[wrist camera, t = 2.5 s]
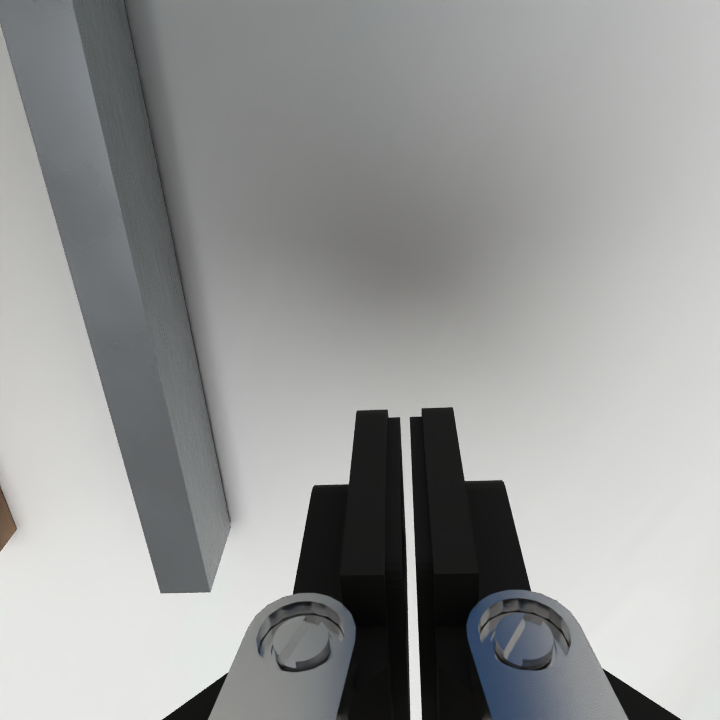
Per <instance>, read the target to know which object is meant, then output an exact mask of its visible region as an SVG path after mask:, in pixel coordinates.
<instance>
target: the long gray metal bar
mask: <svg viewBox="0 0 720 720" xmlns="http://www.w3.org/2000/svg"><path fill="white" fill-rule="evenodd" d="M0 24H1V27H2V31H3V34H4V38H5V41H6V45H7V48H8V52H9V56H10V59H11V63H12V66H13V70H14V73H15V77H16V80H17V84H18V88H19V91H20V95H21V98H22V102H23V105H24V109H25V112H26V116H27V120H28V123H29V127H30V130H31V134H32V137H33V141H34V144H35V148H36V152H37V155H38V159H39V162H40V166H41V169H42V173H43V176H44V180H45V184H46V187H47V191H48V194H49V198H50V201H51V205H52V208H53V212H54V216H55V219H56V223H57V226H58V230H59V233H60V237H61V240H62V244H63V248H64V251H65V255H66V258H67V262H68V265H69V269H70V272H71V276H72V280H73V283H74V287H75V290H76V294H77V297H78V301H79V304H80V308H81V312H82V315H83V319H84V322H85V326H86V329H87V333H88V336H89V340H90V344H91V347H92V351H93V354H94V358H95V361H96V365H97V368H98V372H99V376H100V379H101V383H102V386H103V390H104V393H105V397H106V401H107V404H108V408H109V411H110V415H111V418H112V422H113V425H114V429H115V433H116V436H117V440H118V443H119V447H120V450H121V454H122V457H123V461H124V465H125V468H126V472H127V475H128V479H129V482H130V486H131V489H132V493H133V497H134V500H135V504H136V507H137V511H138V514H139V518H140V521H141V525H142V529H143V532H144V536H145V539H146V543H147V546H148V550H149V553H150V557H151V561H152V564H153V568H154V571H155V575H156V578H157V582H158V585H159V589H160V593H198V592H211V589H212V585H213V582H214V579H215V576H216V572H217V569H218V566H219V563H220V560H221V556H222V553H223V550H224V547H225V544H226V540H227V537H228V534H229V531H230V528H231V527H230V522H229V517H228V512H227V507H226V502H225V497H224V492H223V488H222V483H221V478H220V473H219V468H218V463H217V458H216V453H215V448H214V443H213V438H212V433H211V428H210V424H209V419H208V414H207V409H206V404H205V399H204V394H203V389H202V384H201V379H200V374H199V369H198V364H197V359H196V355H195V350H194V345H193V340H192V335H191V330H190V325H189V320H188V315H187V310H186V305H185V300H184V295H183V290H182V286H181V281H180V276H179V271H178V266H177V261H176V256H175V251H174V246H173V241H172V236H171V231H170V226H169V221H168V217H167V212H166V207H165V202H164V197H163V192H162V187H161V182H160V177H159V172H158V167H157V162H156V157H155V152H154V148H153V143H152V138H151V133H150V128H149V123H148V118H147V113H146V108H145V103H144V98H143V93H142V88H141V83H140V79H139V74H138V69H137V64H136V59H135V54H134V49H133V44H132V39H131V34H130V29H129V24H128V19H127V14H126V10H125V5H124V0H0Z"/></svg>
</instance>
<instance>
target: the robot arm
mask: <svg viewBox="0 0 720 720" xmlns="http://www.w3.org/2000/svg"><path fill="white" fill-rule="evenodd" d="M410 433H411V458H412V483H413V508H414V532H415V557H416V582H417V606H418V631H419V655H420V680H421V705H422V720H681V719H680V718H678V717H677V716H675V715H673V714H672V713H670V712H669V711H667V710H666V709H664V708H663V707H661V706H660V705H658V704H656V703H655V702H653V701H652V700H650V699H649V698H647V697H646V696H644V695H643V694H641V693H640V692H638V691H636V690H635V689H633V688H632V687H630V686H629V685H627V684H626V683H624V682H623V681H621V680H619V679H618V678H616V677H615V676H613V675H612V674H610V673H609V672H607V671H606V670H604V669H603V668H602V667H601V665H600V663H599V661H598V659H597V657H596V655H595V653H594V652H593V650H592V648H591V646H590V644H589V642H588V640H587V638H586V636H585V634H584V632H583V630H582V628H581V626H580V624H579V623H578V622H577V620H576V619H575V617H574V616H573V615H572V613H571V612H570V611H569V610H568V609H566V608H565V607H564V606H563V605H561V604H560V603H559V602H558V601H556V600H554V599H552V598H549V597H547V596H545V595H543V594H541V593H536V592H532V591H531V589H530V585H529V581H528V577H527V573H526V569H525V565H524V561H523V557H522V552H521V548H520V544H519V540H518V536H517V532H516V528H515V524H514V520H513V516H512V512H511V508H510V504H509V500H508V496H507V492H506V488H505V485H504V482H503V481H502V480H494V481H464V474H463V468H462V462H461V456H460V449H459V443H458V437H457V430H456V424H455V418H454V411H453V408H452V407H448V408H422V417H410ZM163 720H410V688H409V645H408V602H407V559H406V533H405V512H404V491H403V470H402V449H401V428H400V417H395V418H388V410H362V411H357V413H356V421H355V431H354V441H353V451H352V461H351V470H350V480H349V484H346V485H314V487H313V489H312V493H311V498H310V503H309V509H308V514H307V520H306V525H305V531H304V536H303V542H302V547H301V553H300V558H299V564H298V569H297V574H296V580H295V585H294V591H293V595H290V596H286V597H282V598H280V599H278V600H276V601H275V602H273V603H271V604H269V605H267V606H266V607H265V608H264V609H263V610H262V611H260V612H259V613H258V614H257V615H256V616H255V618H254V619H253V621H252V622H251V624H250V625H249V627H248V629H247V631H246V633H245V636H244V638H243V640H242V642H241V645H240V647H239V649H238V652H237V654H236V656H235V659H234V661H233V663H232V666H231V668H230V670H229V672H228V673H227V674H225V675H224V676H223V677H221V678H220V679H218V680H217V681H216V682H214V683H213V684H211V685H210V686H209V687H207V688H206V689H204V690H203V691H202V692H200V693H199V694H197V695H196V696H195V697H193V698H192V699H190V700H189V701H188V702H186V703H185V704H184V705H182V706H181V707H179V708H178V709H177V710H175V711H174V712H172V713H171V714H170V715H168V716H167V717H165V718H164V719H163Z"/></svg>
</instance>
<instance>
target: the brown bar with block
mask: <svg viewBox="0 0 720 720" xmlns="http://www.w3.org/2000/svg"><path fill="white" fill-rule="evenodd" d="M15 531H16V527H15V524H14V522H13V519H12V517H11V514H10V512H9V509H8V506H7V504H6V501H5V499H4V496H3V494H2V491H1V489H0V551H1V550H2V549H3V547H4V546H5V545H6V543H7V542H8V540H9V539H10V538H11V536H12V535H13V534H14V532H15Z"/></svg>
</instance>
